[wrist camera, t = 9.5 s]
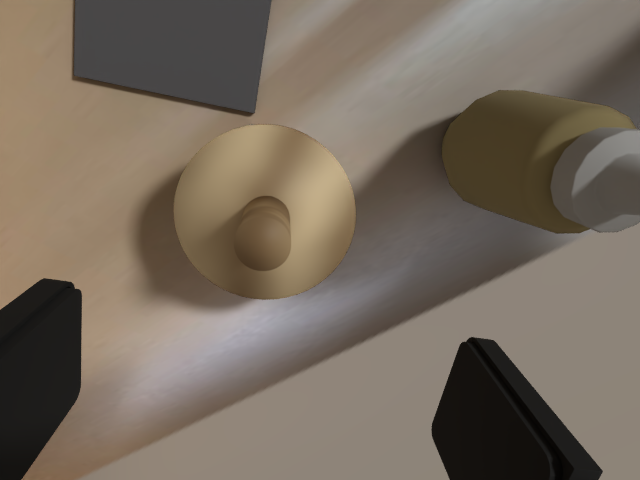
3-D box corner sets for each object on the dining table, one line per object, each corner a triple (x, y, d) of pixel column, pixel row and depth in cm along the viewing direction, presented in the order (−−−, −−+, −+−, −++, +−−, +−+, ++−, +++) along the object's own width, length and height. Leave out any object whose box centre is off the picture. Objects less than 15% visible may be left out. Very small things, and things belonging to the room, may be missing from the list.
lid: (371, 144, 26) (395, 157, 21) (333, 303, 30) (344, 351, 24) (187, 106, 25) (158, 108, 19) (169, 279, 28) (141, 325, 23)
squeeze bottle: (544, 160, 32) (829, 231, 16) (454, 216, 33) (631, 341, 16) (502, 67, 30) (790, 30, 13) (407, 130, 31) (558, 174, 14)
